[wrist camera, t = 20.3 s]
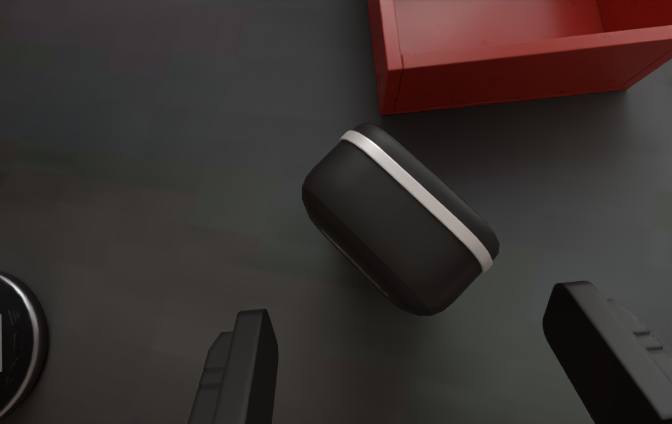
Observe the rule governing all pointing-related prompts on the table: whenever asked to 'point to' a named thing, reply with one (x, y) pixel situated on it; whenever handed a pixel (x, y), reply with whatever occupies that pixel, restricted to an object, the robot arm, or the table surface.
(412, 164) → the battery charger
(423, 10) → the open red box
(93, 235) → the table surface
